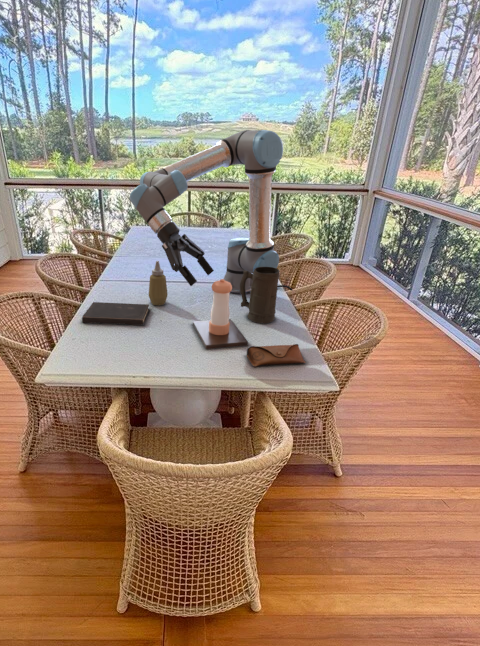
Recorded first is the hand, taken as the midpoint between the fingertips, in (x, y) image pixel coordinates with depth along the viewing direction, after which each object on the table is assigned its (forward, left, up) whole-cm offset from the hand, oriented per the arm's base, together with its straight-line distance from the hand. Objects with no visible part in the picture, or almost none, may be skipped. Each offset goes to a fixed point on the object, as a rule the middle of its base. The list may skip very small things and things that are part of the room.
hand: (202, 278), depth 136 cm
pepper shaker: (-5, +5, -18) cm, 20 cm away
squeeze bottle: (+11, -29, -20) cm, 37 cm away
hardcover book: (+29, -18, -20) cm, 40 cm away
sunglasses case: (-19, +26, -20) cm, 38 cm away
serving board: (-6, +5, -20) cm, 21 cm away
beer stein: (-25, -8, -20) cm, 33 cm away
